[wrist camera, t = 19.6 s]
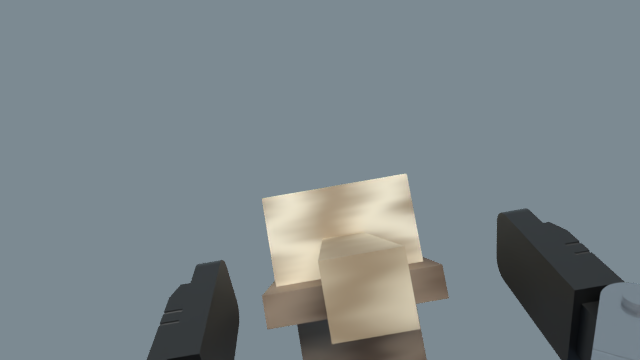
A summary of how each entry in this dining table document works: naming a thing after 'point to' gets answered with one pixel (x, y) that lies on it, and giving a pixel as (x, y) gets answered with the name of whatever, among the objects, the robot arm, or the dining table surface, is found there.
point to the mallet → (350, 252)
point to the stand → (359, 355)
